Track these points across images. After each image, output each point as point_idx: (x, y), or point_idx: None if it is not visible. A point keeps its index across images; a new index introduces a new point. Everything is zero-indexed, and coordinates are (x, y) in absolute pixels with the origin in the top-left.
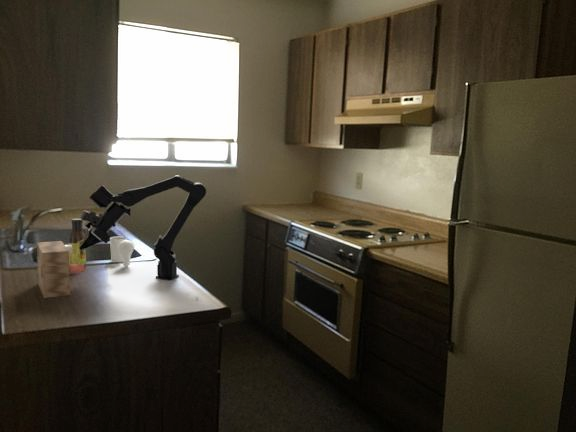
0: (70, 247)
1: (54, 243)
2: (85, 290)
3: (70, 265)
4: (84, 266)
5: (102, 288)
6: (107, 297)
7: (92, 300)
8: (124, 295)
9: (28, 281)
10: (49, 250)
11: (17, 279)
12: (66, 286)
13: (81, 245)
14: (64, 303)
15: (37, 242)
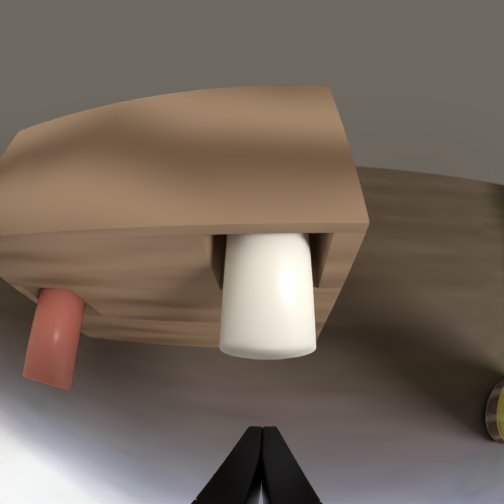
0: (223, 324)
1: (238, 158)
2: (116, 407)
3: (40, 303)
4: (498, 440)
5: (115, 475)
6: (16, 431)
7: (12, 379)
8: (16, 482)
9: None
10: (31, 148)
11: (393, 198)
12: None
13: (232, 452)
14: (30, 300)
15: (326, 88)
